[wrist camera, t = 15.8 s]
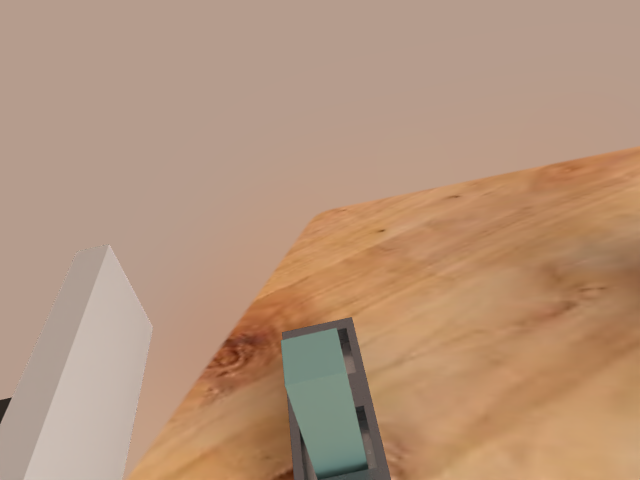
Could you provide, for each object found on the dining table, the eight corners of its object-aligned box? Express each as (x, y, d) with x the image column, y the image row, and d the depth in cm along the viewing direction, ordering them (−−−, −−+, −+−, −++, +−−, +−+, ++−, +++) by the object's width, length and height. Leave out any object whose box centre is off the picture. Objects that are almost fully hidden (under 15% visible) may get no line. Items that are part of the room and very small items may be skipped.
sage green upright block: (312, 438, 44) (280, 340, 37) (359, 427, 44) (336, 327, 37) (318, 483, 40) (284, 385, 33) (369, 472, 40) (346, 372, 33)
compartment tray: (288, 352, 53) (282, 332, 51) (356, 338, 53) (351, 317, 51) (304, 521, 39) (296, 501, 38) (395, 502, 39) (391, 481, 37)
